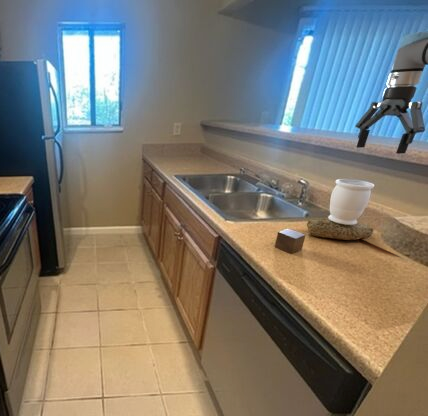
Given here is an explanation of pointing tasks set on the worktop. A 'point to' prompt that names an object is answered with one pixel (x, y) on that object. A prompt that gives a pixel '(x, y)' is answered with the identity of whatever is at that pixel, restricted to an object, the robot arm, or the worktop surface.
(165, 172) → the worktop surface
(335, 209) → the jar
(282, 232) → the walnut block
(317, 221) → the rough brown rock
